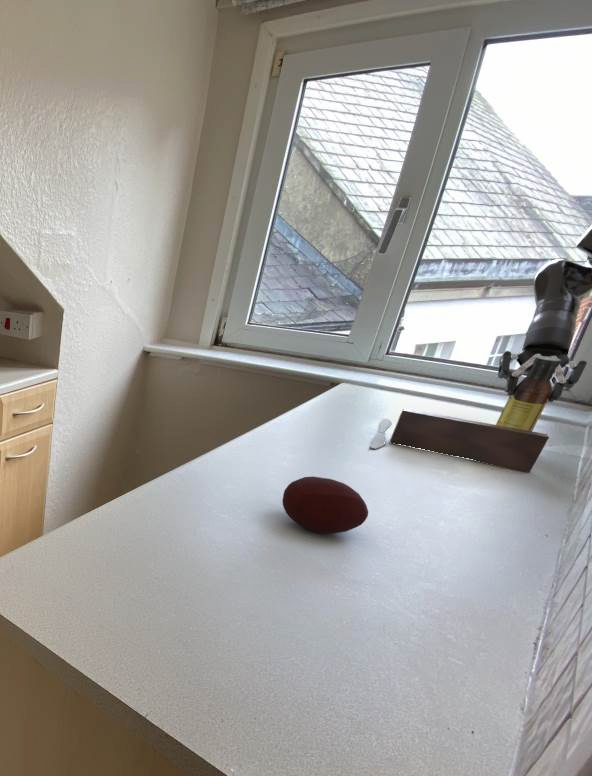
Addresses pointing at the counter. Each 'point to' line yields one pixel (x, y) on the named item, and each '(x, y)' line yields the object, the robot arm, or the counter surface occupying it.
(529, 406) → the sauce bottle
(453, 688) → the counter surface
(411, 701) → the counter surface
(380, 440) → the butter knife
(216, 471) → the counter surface
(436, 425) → the backsplash board
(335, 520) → the potato
